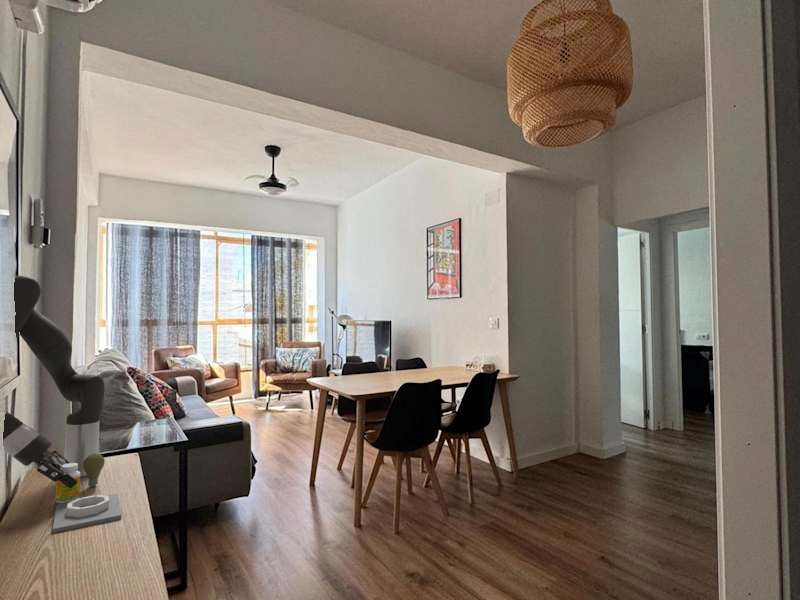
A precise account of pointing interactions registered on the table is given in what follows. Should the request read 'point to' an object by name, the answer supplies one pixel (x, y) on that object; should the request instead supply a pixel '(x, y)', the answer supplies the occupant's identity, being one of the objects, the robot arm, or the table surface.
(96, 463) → the light bulb
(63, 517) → the collar plate
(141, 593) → the table surface
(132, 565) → the table surface
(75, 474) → the supplement bottle
